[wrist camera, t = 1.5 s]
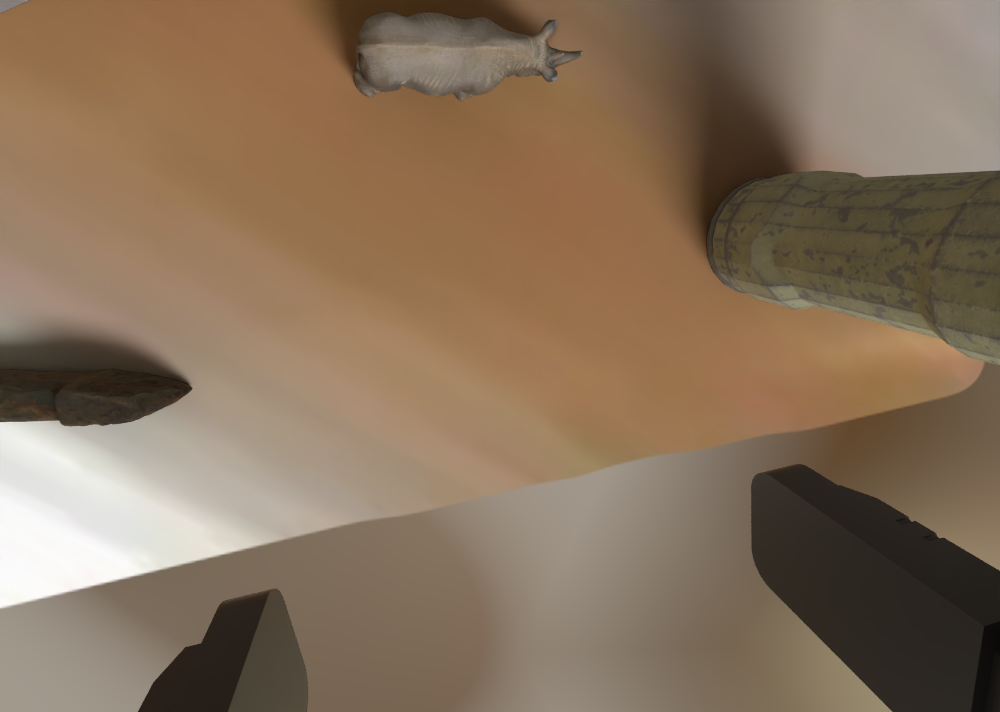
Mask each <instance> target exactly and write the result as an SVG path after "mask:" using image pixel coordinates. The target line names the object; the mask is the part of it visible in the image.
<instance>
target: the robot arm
mask: <svg viewBox="0 0 1000 712" xmlns="http://www.w3.org/2000/svg"><path fill="white" fill-rule="evenodd" d="M751 486H752V487H751V517H752V518H751V524H752V525H751V526H752V528H751V529H752V530H751V532H752V533H751V534H752V554H753V559H754V562H755V565H756V567H757V570H758V571H759V574H760V575H761V577H762V579H763V580H764V581H765V583H766V584H767V585H768V587H769V588H770V589H771V590H772V591H773V592H774V593H775V594H776V595H777V596H778V597H779V598H780V599H781V600H782V601H783V602H784V603H785V604H786V605H787V606H788V607H789V608H790V609H791V610H792V611H793V612H794V613H795V614H796V615H797V616H798V617H799V618H800V619H801V620H802V621H803V622H804V623H805V624H806V625H807V626H808V627H809V628H810V629H811V630H812V631H813V632H814V633H815V634H816V635H817V636H818V637H819V638H820V639H821V640H822V641H823V642H824V643H825V644H826V645H827V646H828V647H829V648H830V649H831V650H832V651H833V652H834V653H835V654H836V655H837V656H838V657H839V658H840V659H841V660H842V661H843V662H844V663H845V664H846V665H847V666H848V667H849V668H850V669H851V670H852V671H853V672H854V673H855V674H856V675H857V676H858V677H859V678H860V679H861V680H862V681H863V682H864V683H865V684H866V685H867V686H868V687H869V689H871V690H872V691H873V693H875V695H877V697H879V699H880V700H882V701H883V702H884V704H885V705H886V706H887V707H888V708H889V709H890V710H891V711H892V712H1000V571H999V570H997V569H996V568H994V567H992V566H990V565H989V564H987V563H985V562H983V561H982V560H980V559H979V558H977V557H975V556H974V555H972V554H970V553H969V552H966V551H965V550H964V549H962V548H960V547H958V546H957V545H955V544H953V543H952V542H950V541H948V540H946V539H945V538H940V539H939V538H938V537H937V535H936V533H935V532H933V531H931V530H930V529H928V528H926V527H925V526H923V525H921V524H920V523H918V522H916V521H913V522H911V521H910V520H909V517H908V516H906V515H904V514H903V513H901V512H899V511H898V510H896V509H894V508H892V507H891V506H889V505H887V504H886V503H884V502H882V501H881V500H879V499H877V498H875V497H872V496H869V495H866V494H863V493H861V492H858V491H854V490H852V489H849V488H846V487H843V486H840V485H839V486H838V485H837V484H835V483H833V482H832V481H830V480H828V479H827V478H825V477H823V476H822V475H820V474H819V473H817V472H815V471H814V470H812V469H811V468H809V467H807V466H805V465H802V464H796V465H791V466H787V467H783V468H779V469H775V470H771V471H767V472H763V473H759V474H757V475H755V476H754V478H753V480H752V485H751ZM307 707H308V681H307V673H306V668H305V664H304V660H303V657H302V654H301V652H300V648H299V645H298V642H297V639H296V636H295V632H294V630H293V626H292V623H291V620H290V617H289V614H288V611H287V608H286V604H285V601H284V598H283V596H282V594H281V592H280V591H279V590H278V589H271V590H267V591H263V592H258V593H254V594H250V595H246V596H242V597H238V598H234V599H229V600H225V601H223V602H222V603H221V604H220V605H219V607H218V609H217V611H216V613H215V615H214V617H213V619H212V622H211V624H210V626H209V628H208V630H207V633H206V635H205V637H204V639H203V641H202V643H201V644H197V645H193V646H189V647H185V648H184V649H183V651H182V652H181V653H180V654H179V655H178V656H177V657H176V658H175V659H174V660H173V662H172V663H171V664H170V665H169V666H168V667H167V668H166V669H165V670H164V671H163V672H162V674H161V675H160V676H159V677H158V678H157V679H156V680H155V682H154V683H153V685H152V686H151V688H150V690H149V692H148V694H147V696H146V698H145V700H144V701H143V703H142V705H141V707H140V709H139V711H138V712H307Z"/></svg>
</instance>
